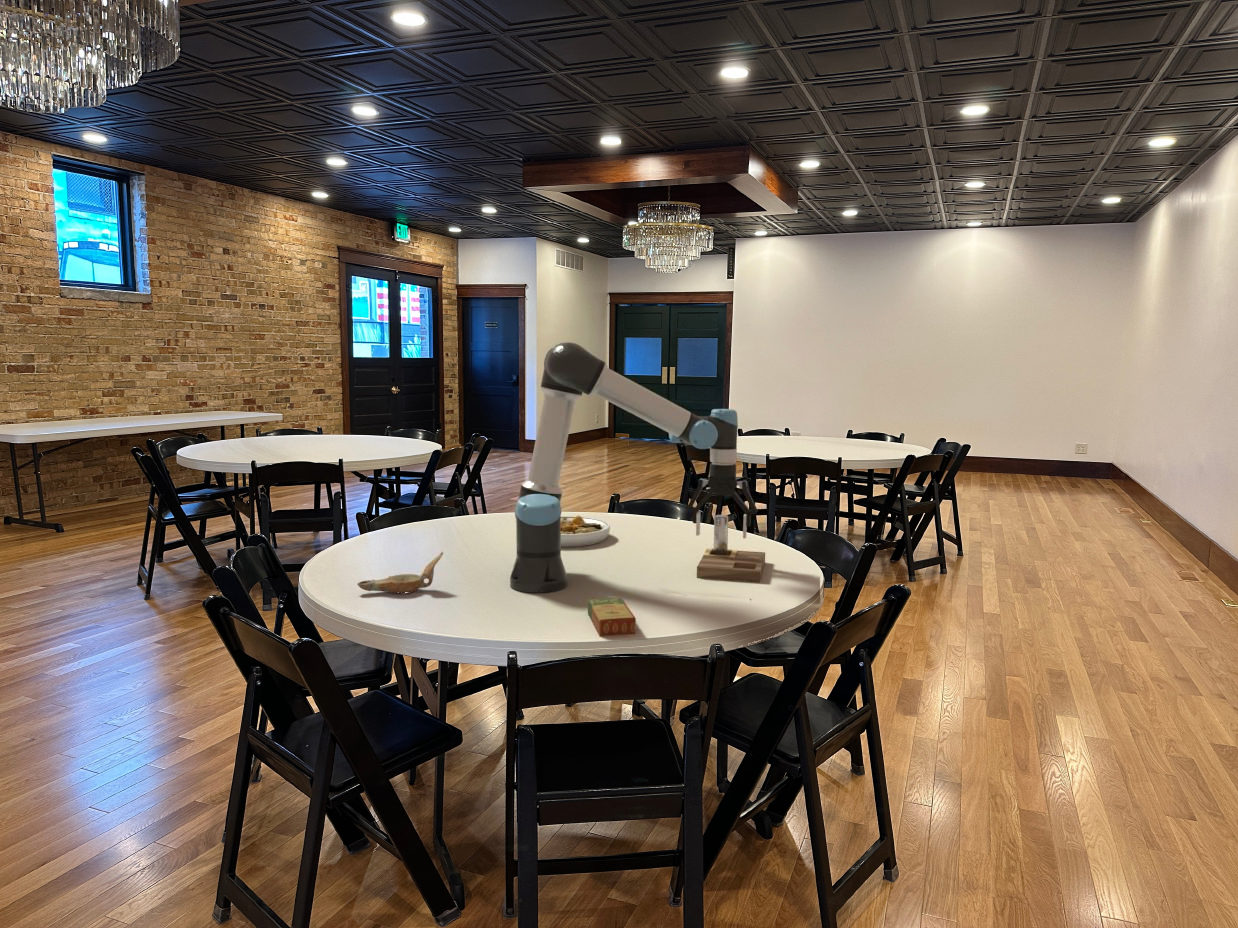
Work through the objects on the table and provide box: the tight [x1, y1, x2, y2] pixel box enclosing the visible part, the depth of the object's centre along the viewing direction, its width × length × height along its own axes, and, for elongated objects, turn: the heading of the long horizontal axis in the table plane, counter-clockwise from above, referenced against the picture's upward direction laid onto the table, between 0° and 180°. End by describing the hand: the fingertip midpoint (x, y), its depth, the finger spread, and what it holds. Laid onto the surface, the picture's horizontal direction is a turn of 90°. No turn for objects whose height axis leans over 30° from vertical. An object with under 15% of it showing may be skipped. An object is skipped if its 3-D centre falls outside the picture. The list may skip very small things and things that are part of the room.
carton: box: [587, 597, 637, 637], centre depth 182 cm, size 8×16×4 cm, turn 11°
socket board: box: [696, 547, 766, 583], centre depth 226 cm, size 22×17×4 cm
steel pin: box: [713, 514, 729, 555], centre depth 232 cm, size 4×4×14 cm
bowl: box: [561, 515, 611, 548], centre depth 268 cm, size 30×30×8 cm
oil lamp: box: [357, 551, 444, 594], centre depth 205 cm, size 9×21×10 cm, turn 104°
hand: (721, 536), depth 232 cm, fingers open, 13 cm apart
